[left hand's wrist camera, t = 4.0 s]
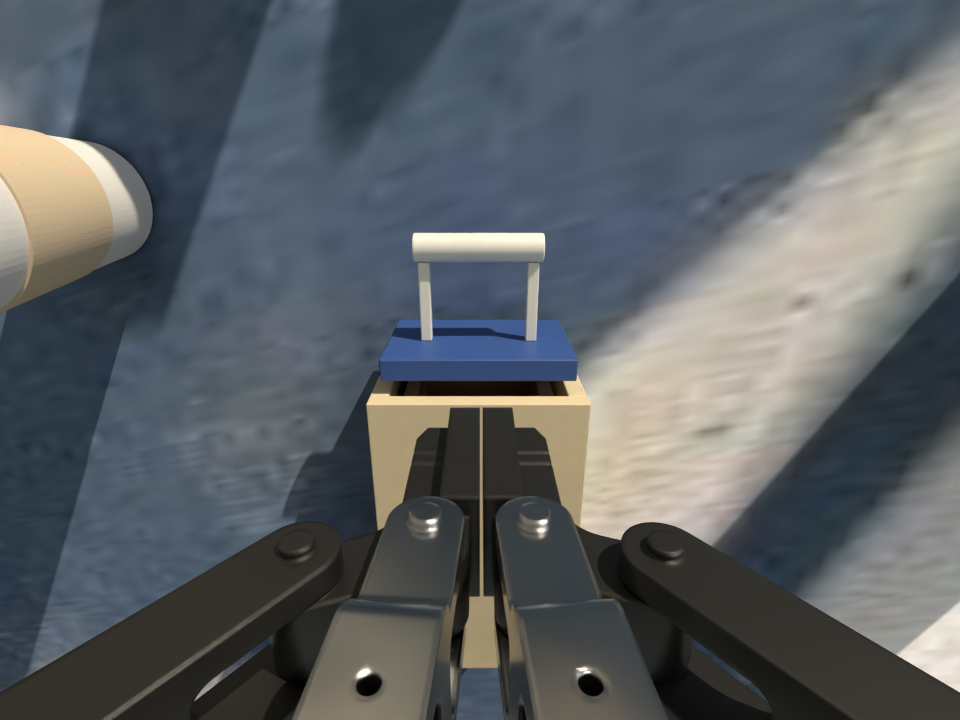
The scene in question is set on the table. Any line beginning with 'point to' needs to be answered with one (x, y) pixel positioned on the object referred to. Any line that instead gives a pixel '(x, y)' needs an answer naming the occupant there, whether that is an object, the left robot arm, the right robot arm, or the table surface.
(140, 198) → the coffee cup
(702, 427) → the table surface
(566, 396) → the tan open box
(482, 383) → the drawer
